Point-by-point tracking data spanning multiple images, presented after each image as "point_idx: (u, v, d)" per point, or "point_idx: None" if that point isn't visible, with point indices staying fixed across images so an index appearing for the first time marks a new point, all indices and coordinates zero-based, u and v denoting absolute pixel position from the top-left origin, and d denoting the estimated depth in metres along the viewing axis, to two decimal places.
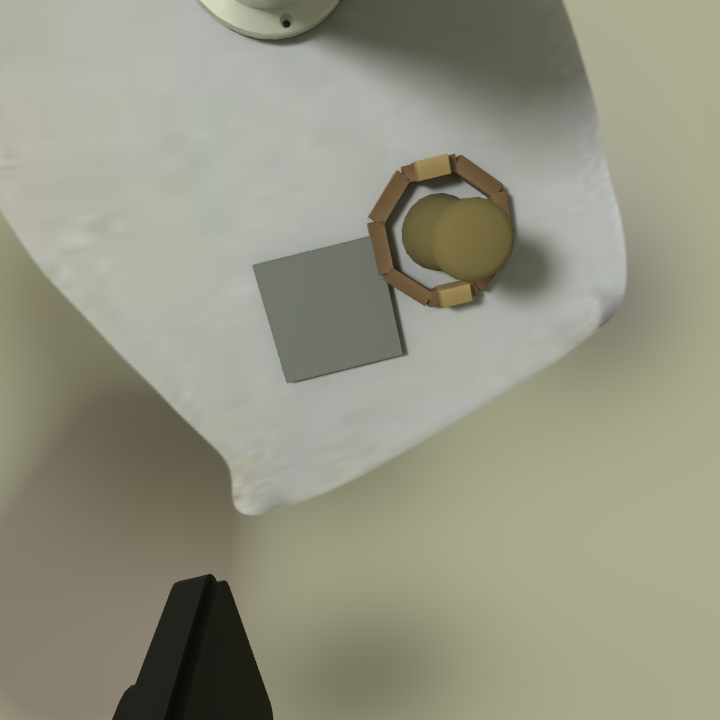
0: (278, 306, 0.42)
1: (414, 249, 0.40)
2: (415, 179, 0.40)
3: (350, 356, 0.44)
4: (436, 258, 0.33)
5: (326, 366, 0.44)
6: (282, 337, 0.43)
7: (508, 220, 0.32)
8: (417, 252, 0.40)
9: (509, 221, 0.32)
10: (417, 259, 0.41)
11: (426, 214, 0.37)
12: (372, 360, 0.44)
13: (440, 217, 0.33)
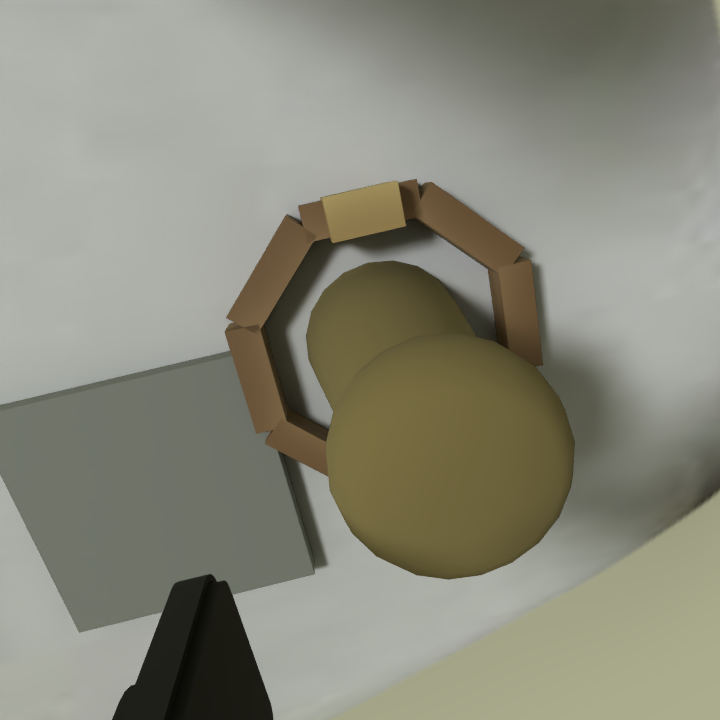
0: (42, 495, 0.20)
1: None
2: (327, 235, 0.18)
3: None
4: (340, 510, 0.11)
5: (158, 600, 0.22)
6: (59, 551, 0.21)
7: (561, 421, 0.10)
8: None
9: (564, 422, 0.10)
10: None
11: (341, 331, 0.15)
12: (253, 586, 0.22)
13: (348, 400, 0.10)
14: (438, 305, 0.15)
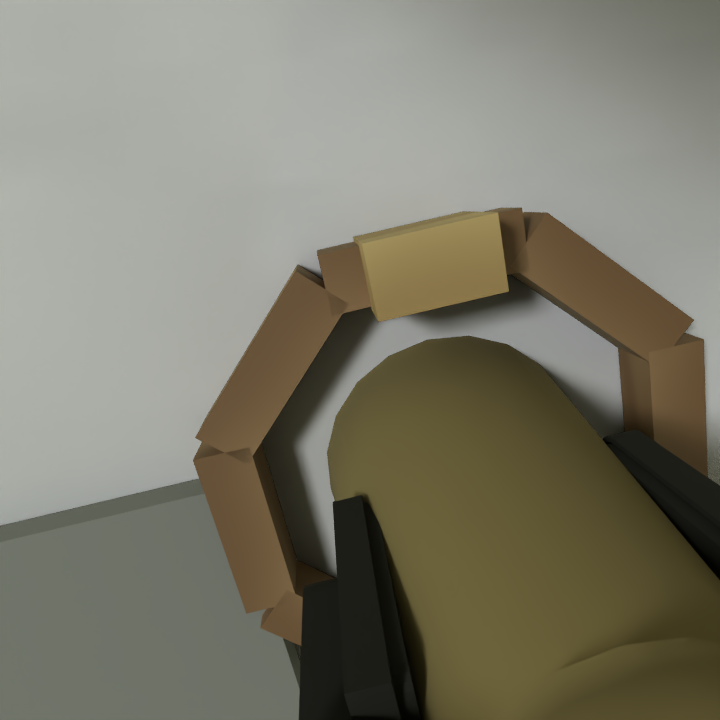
0: None
1: None
2: (366, 303, 0.10)
3: None
4: None
5: None
6: None
7: None
8: None
9: None
10: None
11: (403, 502, 0.08)
12: None
13: None
14: (591, 454, 0.08)
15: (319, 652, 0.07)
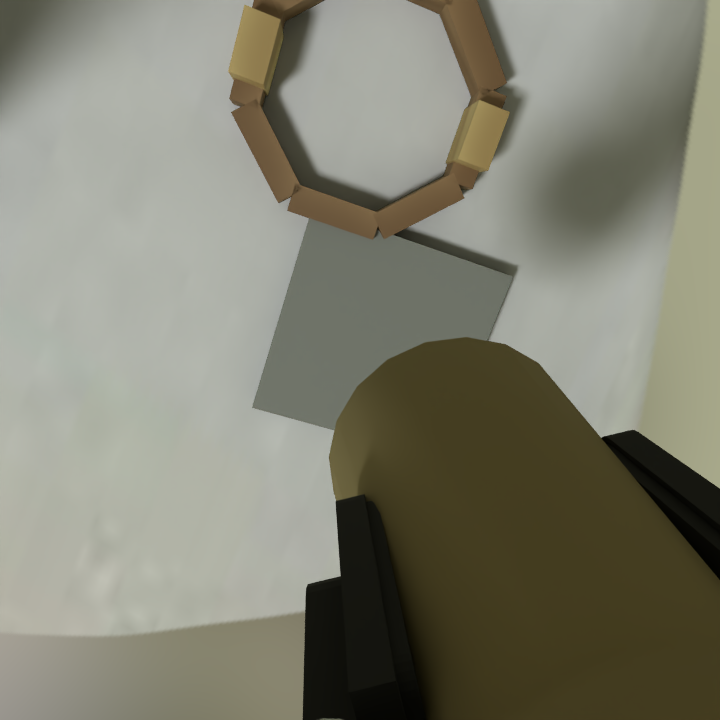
0: (328, 407, 0.26)
1: None
2: (260, 90, 0.22)
3: None
4: None
5: None
6: None
7: None
8: None
9: None
10: None
11: (403, 507, 0.08)
12: (490, 326, 0.26)
13: None
14: (589, 455, 0.08)
15: (322, 651, 0.07)
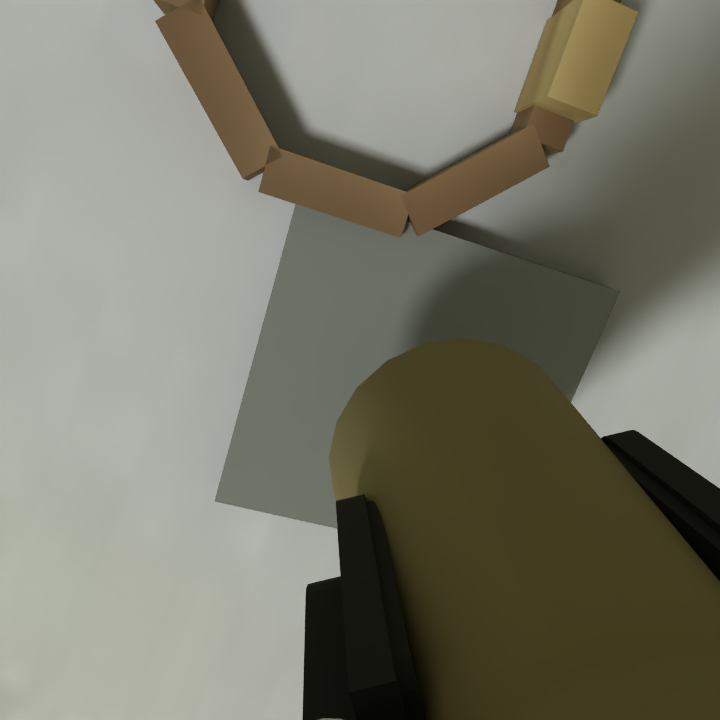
0: (332, 496, 0.17)
1: None
2: None
3: None
4: None
5: None
6: None
7: None
8: None
9: None
10: None
11: (402, 508, 0.08)
12: (581, 368, 0.17)
13: None
14: (589, 456, 0.08)
15: (322, 650, 0.07)
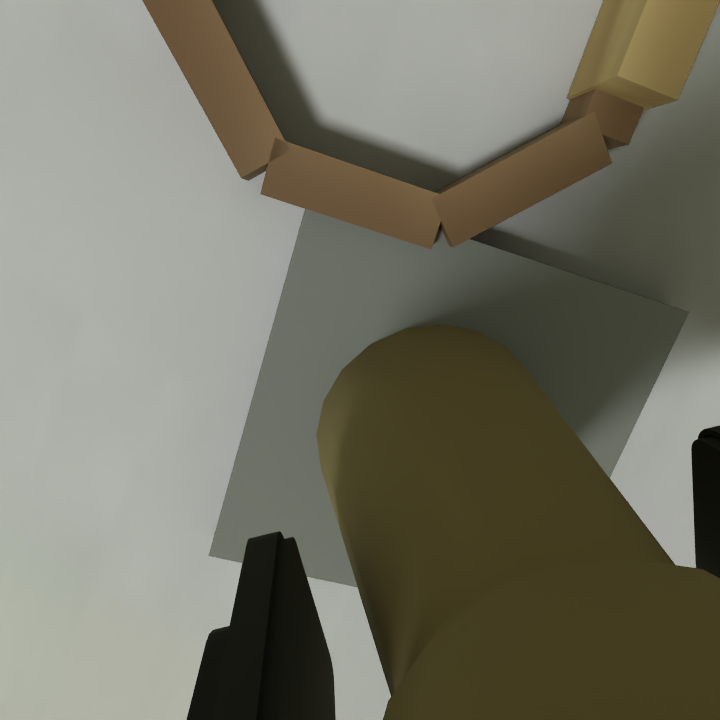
0: (345, 550, 0.15)
1: None
2: None
3: None
4: None
5: None
6: None
7: None
8: None
9: None
10: None
11: (376, 469, 0.09)
12: (640, 402, 0.14)
13: None
14: (540, 422, 0.09)
15: (207, 712, 0.07)
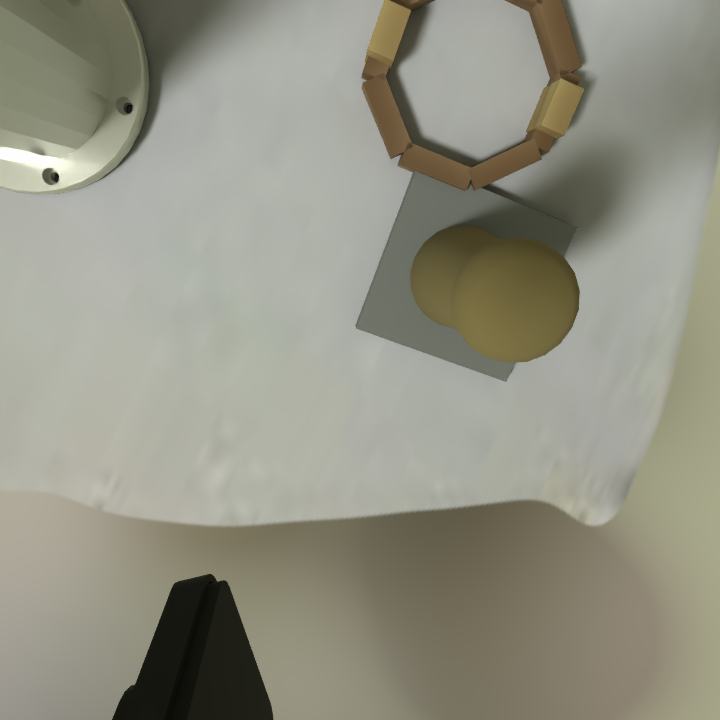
0: (417, 331, 0.32)
1: (426, 301, 0.29)
2: (387, 66, 0.28)
3: None
4: (458, 326, 0.22)
5: None
6: (453, 350, 0.32)
7: (573, 275, 0.21)
8: (430, 306, 0.28)
9: (574, 277, 0.21)
10: (429, 314, 0.30)
11: (445, 255, 0.26)
12: None
13: (467, 266, 0.21)
14: None
15: None
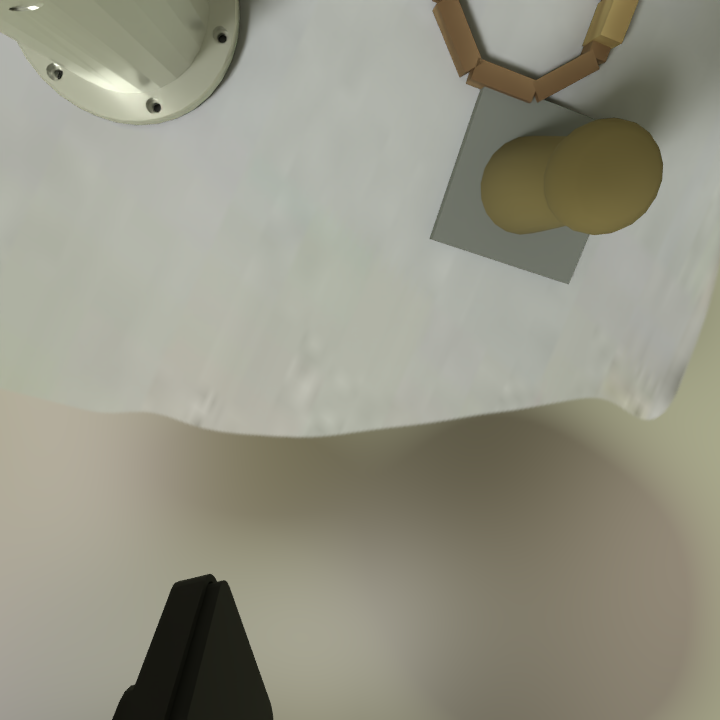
0: (488, 239, 0.34)
1: (502, 204, 0.31)
2: None
3: None
4: (554, 203, 0.25)
5: None
6: (520, 256, 0.35)
7: (658, 147, 0.24)
8: (506, 208, 0.31)
9: (659, 149, 0.24)
10: (502, 219, 0.33)
11: (524, 155, 0.29)
12: None
13: (562, 146, 0.24)
14: None
15: None
